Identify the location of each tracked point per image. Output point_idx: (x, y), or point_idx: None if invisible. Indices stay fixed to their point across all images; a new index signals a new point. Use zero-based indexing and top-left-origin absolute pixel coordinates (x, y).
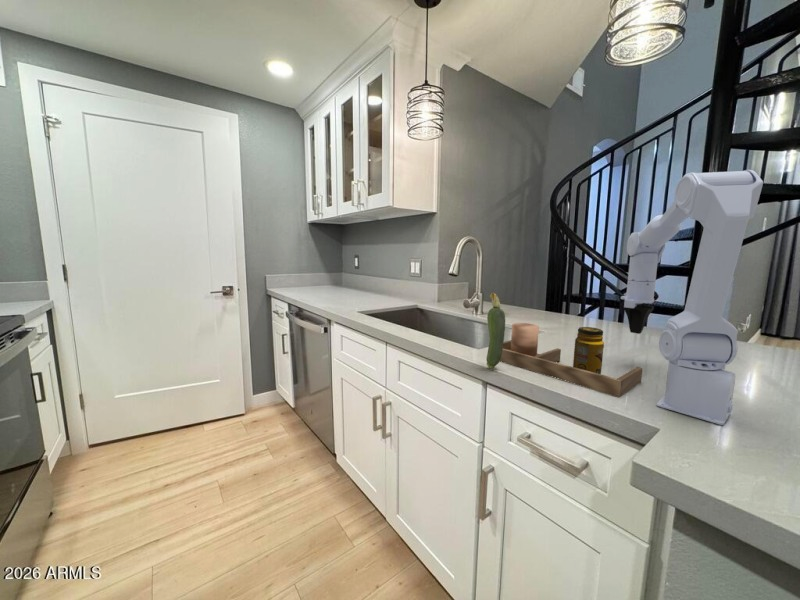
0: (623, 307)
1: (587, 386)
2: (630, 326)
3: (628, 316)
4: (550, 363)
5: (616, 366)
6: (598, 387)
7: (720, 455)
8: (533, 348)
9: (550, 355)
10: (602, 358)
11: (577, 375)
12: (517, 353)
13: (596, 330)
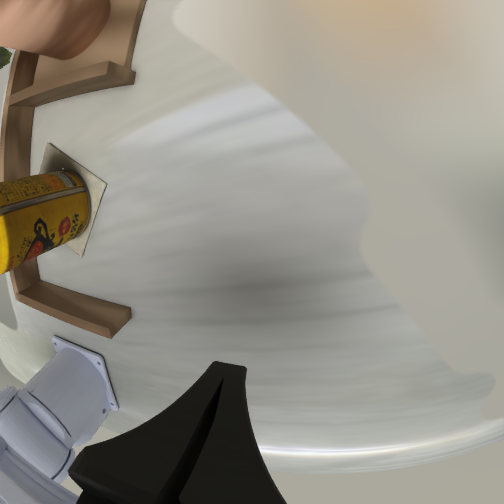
0: (84, 456)
1: None
2: (198, 384)
3: (146, 426)
4: (1, 150)
5: (227, 243)
6: None
7: (26, 365)
8: (37, 53)
9: (58, 89)
10: (36, 256)
11: None
12: (13, 60)
13: None
